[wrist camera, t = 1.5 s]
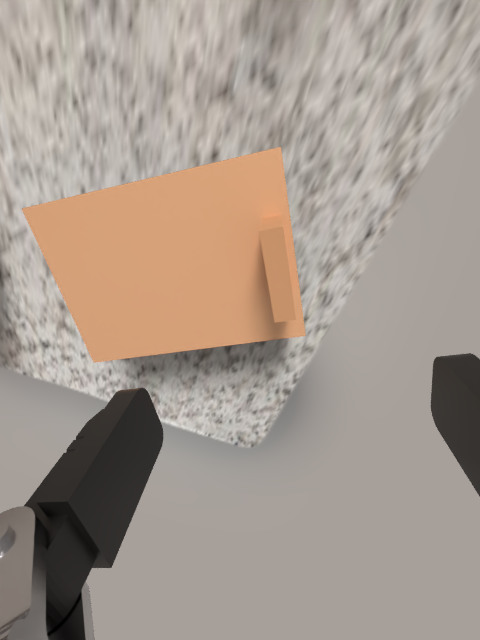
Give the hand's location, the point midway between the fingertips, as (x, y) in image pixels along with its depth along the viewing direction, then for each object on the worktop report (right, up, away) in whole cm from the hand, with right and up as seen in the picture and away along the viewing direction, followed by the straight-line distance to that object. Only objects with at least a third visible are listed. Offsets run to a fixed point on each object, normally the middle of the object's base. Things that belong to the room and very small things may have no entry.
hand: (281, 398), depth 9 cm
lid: (-7, +6, +18) cm, 20 cm away
